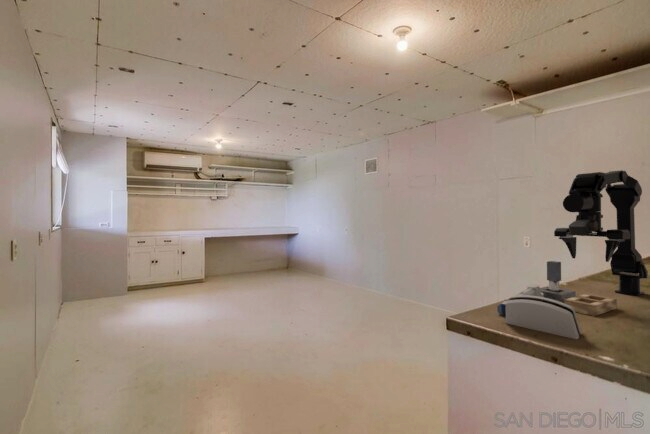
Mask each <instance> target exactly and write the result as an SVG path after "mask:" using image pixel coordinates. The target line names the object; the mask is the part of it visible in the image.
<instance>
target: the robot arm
mask: <svg viewBox="0 0 650 434" xmlns="http://www.w3.org/2000/svg"><path fill="white" fill-rule="evenodd" d="M616 183H618V184H616ZM619 183H620V184H619ZM604 189H605V191H606V193H607V195H608V196H609V197H608V198H609V200H610V204H612V205H613V207H614V208H615V209H616V228H615V229H611V228H610V229H607V230H604V227H603V226H602V219H603V218H604V214H602V198H603V197H604V195H603V194H602V193H601V192H602V191H603V190H604ZM642 194H643V189H642V186H641V184H640V182H639V181H638V180H637V179H635V178H634V177H632V176H630V175H629V174H628V173H627V171H626V170H613V171H611V170H610V171H608V172H601V171H598V172H597V171H596V172H587V173H578V174H577V175H575V178H573V181H572V184H571V186H570V189H569V191H568V195H566V196H565V198H564V199H563V201H562V206H563V209H565V211H567V212H569V213H578V214H576V216H575V221H572V222H571V223H570V224H569V225H568V227H556V228H555V229H554V232H553V233H554V235H553V236H554V237H558V239H559V240H562V241H563V242H564V244H565V245H566V246H567V249H568V251H569V254H570V256H571V258H572V259H576V256H577V237H576V236H579V237H580V236H581V237H600V238H604V237H605V238H607V239H605V240H604V243H605V257H604V258H605V262H606V263H607V262H608V263H609V262H610V269H611V273H612V276H618V289H616V290H614V293H620V294H624V295H631V296H638V297H639V296H641V295H644V294H645V291H642V290H641V279H648V276H649V274H648V273H649V272H648V269H647V267H646V266H645V262H644V261H643V258H642V257H643V255H641V254H640V252H639V251H638V250H637V248H636V234H635V233H636V232H635V231H636V229H635V223H636V222H635V208H636V207H637V205H638V204H639V203H640V200H641V197H642Z"/></svg>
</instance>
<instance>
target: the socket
mask: <svg viewBox="0 0 650 434" xmlns="http://www.w3.org/2000/svg"><path fill="white" fill-rule="evenodd" d="M540 292H541V293H543V295H544V298H549V299H552V300H556V301H559V302H562V303H564V300H565V299H569V298H572V297H576V296H577V294H576V291H575V290H572V289H571V290H570V289H566V288H560V287H559V292H552V291H549V285H548V286H542V287H540Z"/></svg>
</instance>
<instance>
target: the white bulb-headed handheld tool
mask: <svg viewBox="0 0 650 434" xmlns="http://www.w3.org/2000/svg"><path fill="white" fill-rule="evenodd" d="M540 288H541V287H540V285H538V284H536V283H530V284H528V285H527V286H526V289H524V290H522V291H520V292H519V293H517V294H514V296H520V295H529V296H539V297H544V295H543V293H541V292H540ZM508 299H509V298H507V299H506V298H505V299H504V300H502V301H501V302H500V304H498V305H497V306H496V311H497V313H498V314H499V315H500V316H503V317H506V302H507V301H508Z"/></svg>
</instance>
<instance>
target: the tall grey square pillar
mask: <svg viewBox="0 0 650 434" xmlns="http://www.w3.org/2000/svg"><path fill="white" fill-rule="evenodd" d="M546 280H547V281H548V286H549V291H552V292H559V288H560V282H561V281H562V261H556V260H550V261H546Z"/></svg>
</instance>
